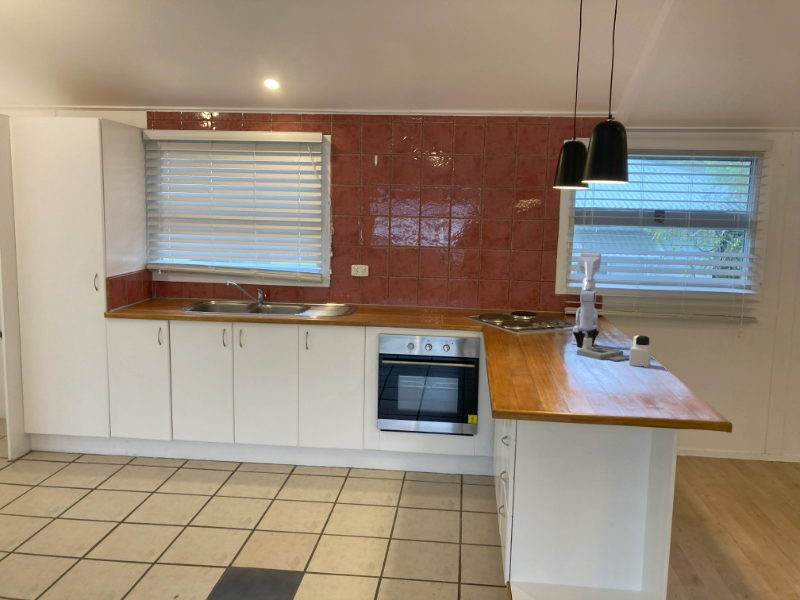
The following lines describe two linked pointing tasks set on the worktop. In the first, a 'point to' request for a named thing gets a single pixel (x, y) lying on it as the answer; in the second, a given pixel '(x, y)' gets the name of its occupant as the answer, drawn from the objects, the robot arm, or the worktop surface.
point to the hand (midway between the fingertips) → (585, 346)
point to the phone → (617, 358)
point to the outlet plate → (599, 352)
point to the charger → (587, 343)
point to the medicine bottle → (640, 351)
